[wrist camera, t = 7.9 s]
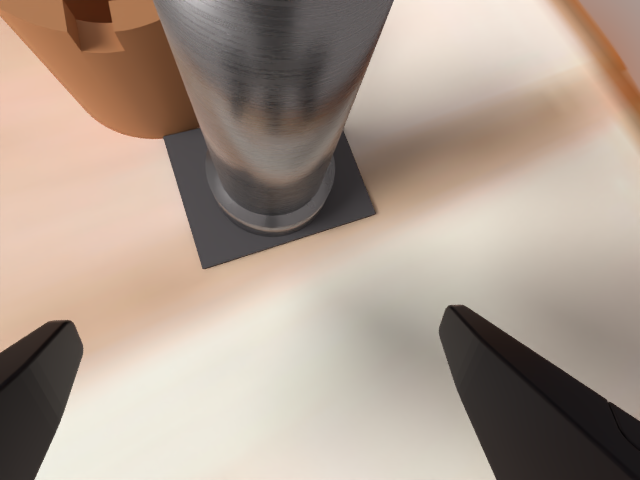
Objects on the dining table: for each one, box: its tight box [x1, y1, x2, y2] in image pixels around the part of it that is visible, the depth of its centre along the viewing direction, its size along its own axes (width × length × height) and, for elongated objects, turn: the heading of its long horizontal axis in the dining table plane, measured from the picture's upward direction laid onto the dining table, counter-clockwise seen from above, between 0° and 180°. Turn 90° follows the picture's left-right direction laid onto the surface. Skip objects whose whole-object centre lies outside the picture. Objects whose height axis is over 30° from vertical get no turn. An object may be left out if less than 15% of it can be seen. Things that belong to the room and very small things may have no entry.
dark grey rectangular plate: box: [163, 128, 376, 269], centre depth 18 cm, size 7×9×1 cm
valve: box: [153, 0, 394, 237], centre depth 10 cm, size 6×6×15 cm
